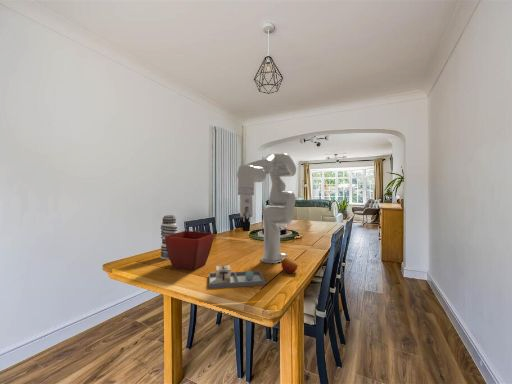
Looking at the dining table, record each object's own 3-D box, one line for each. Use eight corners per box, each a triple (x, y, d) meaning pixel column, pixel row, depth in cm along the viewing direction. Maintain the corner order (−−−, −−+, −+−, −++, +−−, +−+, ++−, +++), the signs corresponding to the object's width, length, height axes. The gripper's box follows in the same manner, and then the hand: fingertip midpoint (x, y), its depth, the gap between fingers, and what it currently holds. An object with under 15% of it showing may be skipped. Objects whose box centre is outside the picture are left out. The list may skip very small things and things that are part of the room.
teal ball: (252, 278, 107) (252, 269, 107) (254, 281, 103) (254, 272, 103) (244, 278, 106) (244, 269, 106) (245, 281, 102) (245, 272, 102)
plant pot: (214, 262, 130) (215, 232, 130) (196, 274, 112) (197, 239, 112) (184, 259, 135) (185, 230, 135) (163, 269, 117) (163, 236, 117)
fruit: (276, 266, 121) (284, 253, 121) (289, 274, 121) (297, 261, 122) (279, 272, 113) (288, 258, 113) (292, 280, 113) (301, 266, 114)
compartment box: (259, 274, 112) (259, 270, 112) (265, 285, 100) (265, 281, 100) (209, 277, 108) (209, 273, 108) (208, 289, 95) (208, 284, 95)
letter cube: (229, 278, 106) (229, 265, 106) (230, 283, 100) (230, 269, 100) (215, 279, 105) (216, 265, 105) (216, 284, 99) (216, 270, 99)
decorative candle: (156, 257, 137) (157, 215, 137) (170, 254, 145) (171, 214, 145) (165, 260, 132) (166, 216, 132) (179, 257, 139) (180, 215, 139)
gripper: (257, 192, 98) (255, 232, 98) (251, 192, 115) (250, 226, 115) (239, 191, 97) (238, 232, 97) (236, 192, 114) (235, 226, 114)
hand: (244, 229), depth 106 cm, fingers open, 9 cm apart
